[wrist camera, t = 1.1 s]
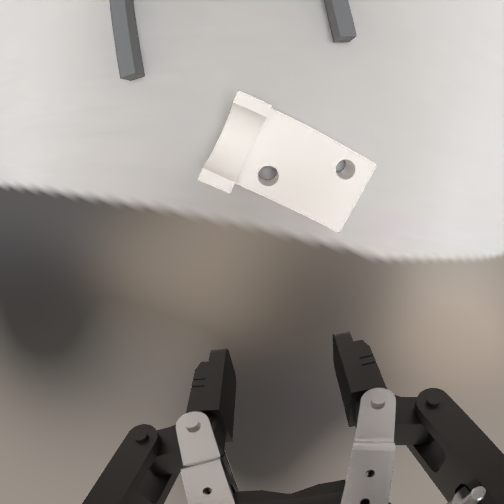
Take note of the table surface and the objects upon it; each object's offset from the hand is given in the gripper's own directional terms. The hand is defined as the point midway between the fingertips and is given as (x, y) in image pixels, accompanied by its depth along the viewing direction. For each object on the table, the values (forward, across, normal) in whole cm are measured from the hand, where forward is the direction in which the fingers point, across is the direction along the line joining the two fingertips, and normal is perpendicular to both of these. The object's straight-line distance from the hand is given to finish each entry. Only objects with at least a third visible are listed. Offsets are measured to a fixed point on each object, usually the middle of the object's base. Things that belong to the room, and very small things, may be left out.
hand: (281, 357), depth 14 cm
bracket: (+20, -3, -6) cm, 21 cm away
